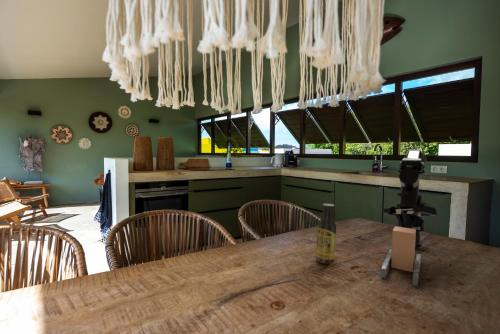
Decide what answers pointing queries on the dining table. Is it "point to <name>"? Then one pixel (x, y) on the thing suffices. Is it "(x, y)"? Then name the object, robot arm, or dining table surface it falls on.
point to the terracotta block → (403, 248)
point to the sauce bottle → (326, 235)
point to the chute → (388, 262)
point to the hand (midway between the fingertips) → (406, 235)
